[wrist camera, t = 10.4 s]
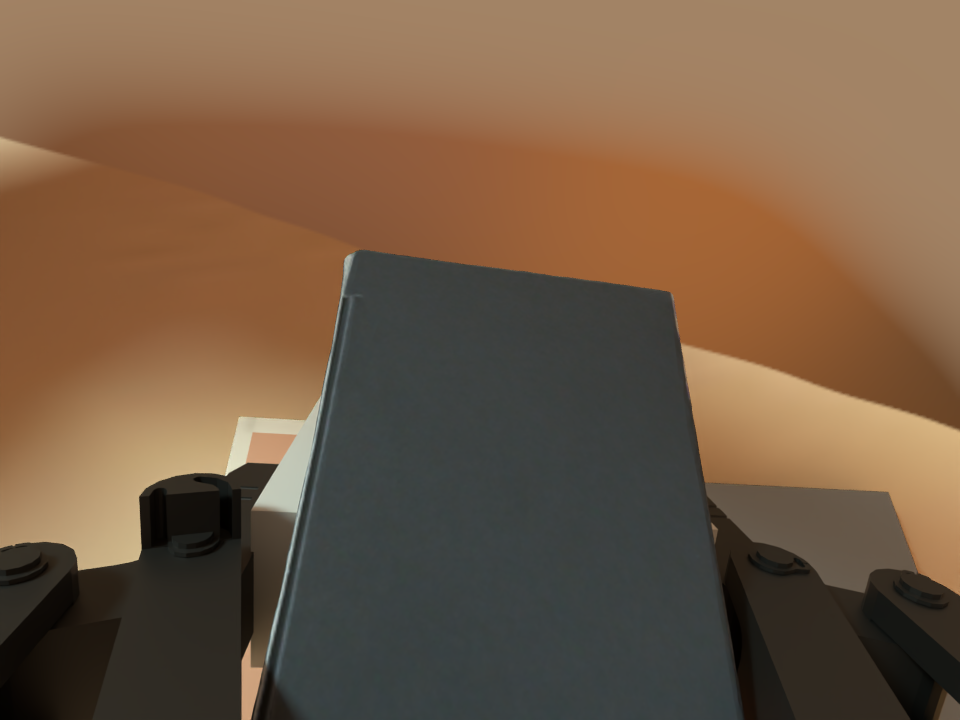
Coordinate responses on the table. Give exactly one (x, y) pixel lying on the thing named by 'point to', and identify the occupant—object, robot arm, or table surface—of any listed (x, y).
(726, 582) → the robot arm
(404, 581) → the box
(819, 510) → the grey board
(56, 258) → the table surface
